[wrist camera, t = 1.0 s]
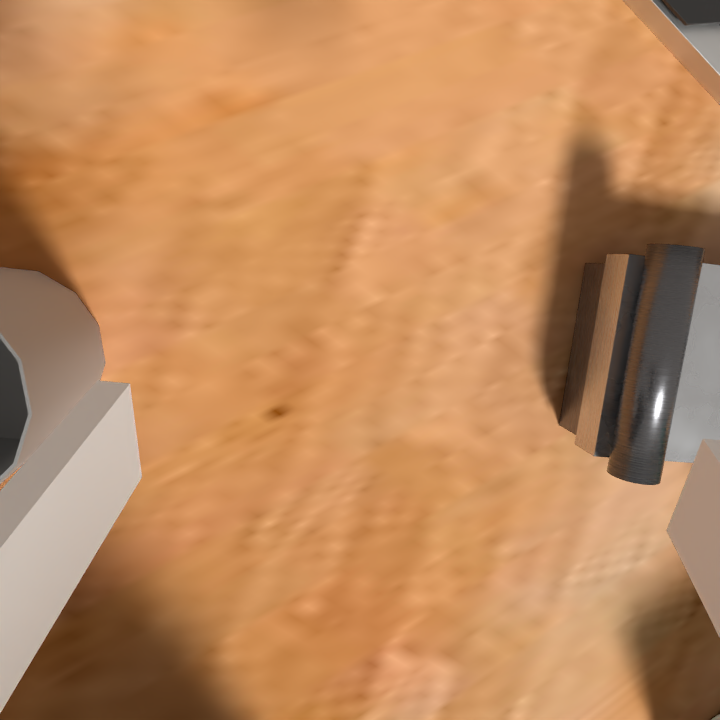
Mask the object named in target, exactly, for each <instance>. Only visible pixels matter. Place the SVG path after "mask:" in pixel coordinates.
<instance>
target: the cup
mask: <svg viewBox="0 0 720 720" xmlns="http://www.w3.org/2000/svg"><path fill="white" fill-rule="evenodd" d="M104 366H105V357H104V351H103V346H102V340H101V334H100V329H99V325H98V323H97V322H96V321H95V319H94V318H93V316H92V315H91V314H90V312H89V311H88V310H87V308H86V307H85V305H84V304H83V303H82V301H81V300H80V298H79V297H78V296H77V294H76V293H75V292H73V291H72V290H70V289H68V288H66V287H65V286H63V285H61V284H60V283H58V282H56V281H54V280H53V279H51V278H49V277H48V276H46V275H44V274H42V273H41V272H39V271H31V270H22V269H14V268H5V267H0V484H1V483H2V482H3V481H4V480H6V479H7V478H8V477H9V476H10V475H11V474H12V473H13V472H15V471H16V470H17V469H18V468H19V467H20V466H21V465H23V464H24V463H25V462H26V461H27V460H28V459H29V458H30V456H31V455H32V454H33V453H34V452H35V451H36V450H37V449H38V447H39V446H40V445H41V444H42V443H43V442H44V441H45V440H46V438H47V437H48V436H49V435H50V434H51V433H52V432H53V430H54V429H55V428H56V427H57V426H58V425H59V424H60V423H61V421H62V420H63V419H64V418H65V417H66V416H67V415H68V414H69V412H70V411H71V410H72V409H73V408H74V407H75V406H76V404H77V403H78V402H79V401H80V400H81V399H82V398H83V397H84V395H85V394H86V393H87V392H88V391H89V390H90V389H91V388H92V386H93V385H94V384H95V383H96V382H97V381H100V379H101V376H102V373H103V369H104Z"/></svg>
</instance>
